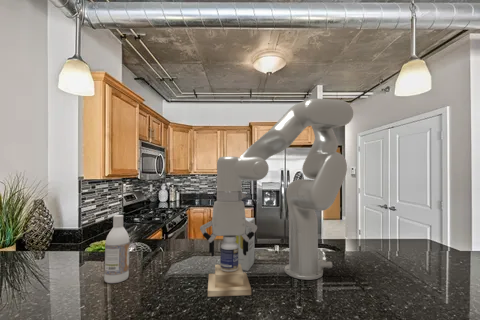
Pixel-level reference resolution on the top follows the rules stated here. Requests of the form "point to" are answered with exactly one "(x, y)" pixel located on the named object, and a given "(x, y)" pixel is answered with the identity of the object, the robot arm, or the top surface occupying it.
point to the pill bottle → (229, 254)
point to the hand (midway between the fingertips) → (228, 254)
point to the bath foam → (117, 252)
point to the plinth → (228, 289)
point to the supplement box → (248, 259)
